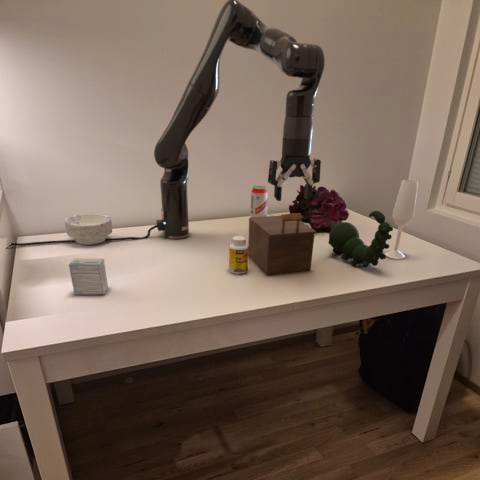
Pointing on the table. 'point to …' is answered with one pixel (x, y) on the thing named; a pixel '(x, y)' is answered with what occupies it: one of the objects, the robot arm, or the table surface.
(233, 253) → the supplement bottle
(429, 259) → the table surface
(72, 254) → the table surface
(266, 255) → the chest
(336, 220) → the flower arrangement
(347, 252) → the toy figurine
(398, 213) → the champagne flute
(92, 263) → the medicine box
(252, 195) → the beer can
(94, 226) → the white stone bowl
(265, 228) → the lid
